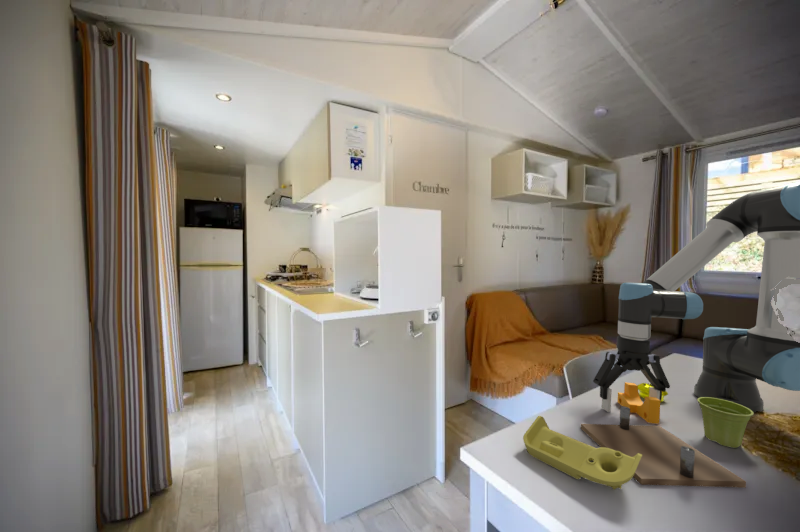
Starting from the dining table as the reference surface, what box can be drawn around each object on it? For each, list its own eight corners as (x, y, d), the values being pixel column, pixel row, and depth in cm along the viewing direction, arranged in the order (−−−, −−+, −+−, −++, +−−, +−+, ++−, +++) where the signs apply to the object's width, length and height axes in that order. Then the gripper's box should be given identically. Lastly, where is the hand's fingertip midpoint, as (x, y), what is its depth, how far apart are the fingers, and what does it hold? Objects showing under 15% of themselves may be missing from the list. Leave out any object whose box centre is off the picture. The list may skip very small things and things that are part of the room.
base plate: (659, 430, 80) (659, 425, 80) (745, 487, 60) (746, 481, 60) (580, 428, 80) (580, 423, 80) (641, 484, 60) (641, 478, 60)
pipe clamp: (617, 402, 96) (618, 381, 96) (633, 404, 95) (634, 383, 95) (641, 422, 84) (642, 398, 84) (659, 424, 83) (660, 400, 83)
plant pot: (762, 456, 70) (764, 418, 70) (708, 447, 73) (710, 410, 73) (735, 435, 79) (736, 400, 78) (688, 427, 82) (689, 394, 82)
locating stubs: (625, 425, 79) (626, 406, 79) (696, 478, 60) (697, 452, 60) (617, 425, 79) (618, 406, 79) (686, 478, 60) (687, 452, 60)
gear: (631, 396, 101) (662, 405, 94) (632, 384, 101) (663, 393, 94) (640, 390, 105) (671, 399, 99) (641, 379, 105) (671, 387, 99)
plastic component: (518, 441, 69) (542, 410, 75) (528, 468, 71) (551, 435, 76) (625, 493, 52) (645, 448, 58) (635, 526, 54) (654, 479, 59)
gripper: (665, 335, 93) (662, 405, 94) (581, 332, 93) (578, 403, 94) (689, 341, 86) (685, 418, 86) (597, 338, 86) (594, 415, 86)
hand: (629, 410), depth 90 cm, fingers open, 13 cm apart
